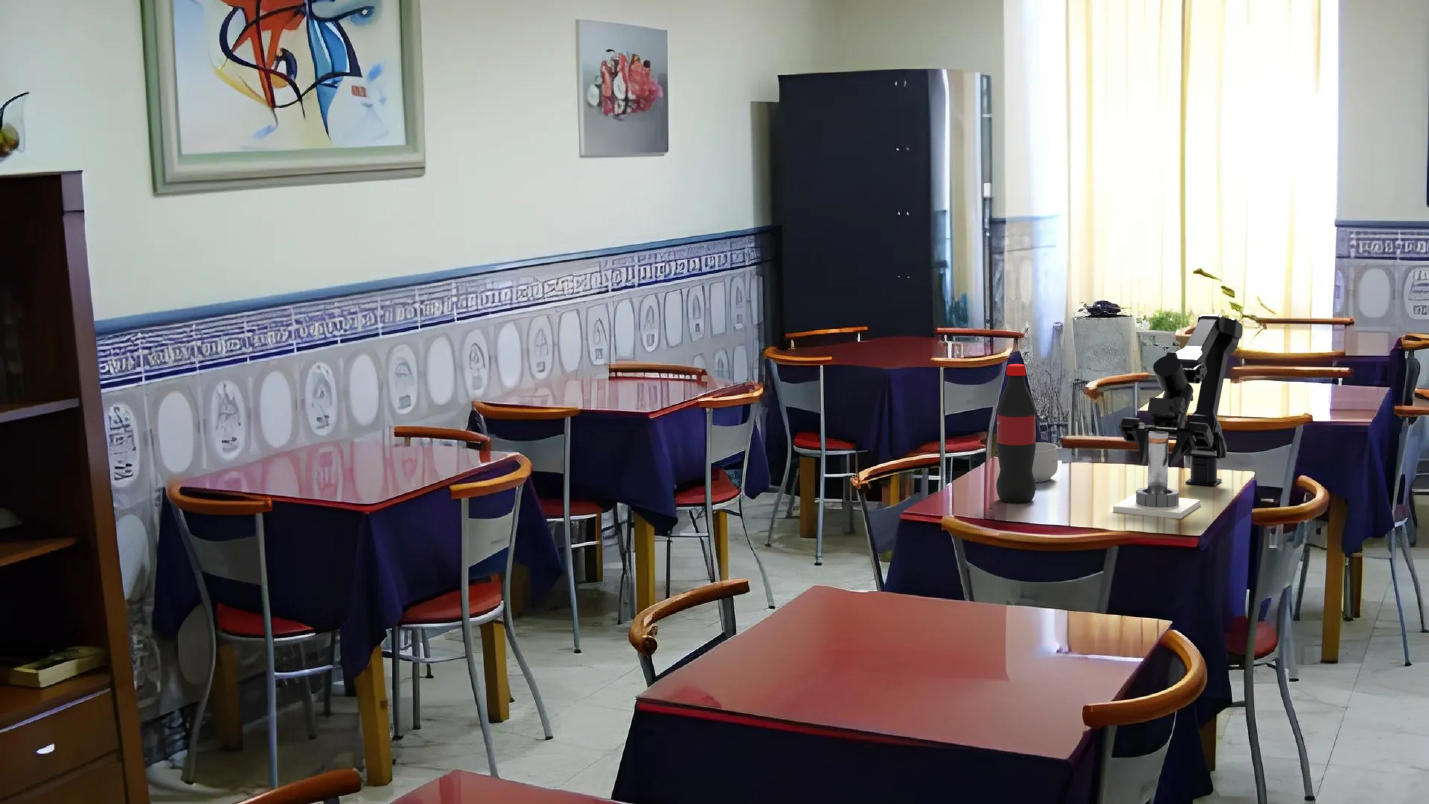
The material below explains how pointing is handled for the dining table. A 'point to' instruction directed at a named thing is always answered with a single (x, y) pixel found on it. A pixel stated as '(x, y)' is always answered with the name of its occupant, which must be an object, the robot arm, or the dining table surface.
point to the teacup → (1045, 461)
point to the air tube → (1158, 462)
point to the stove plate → (1157, 511)
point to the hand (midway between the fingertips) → (1155, 465)
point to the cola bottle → (1016, 439)
